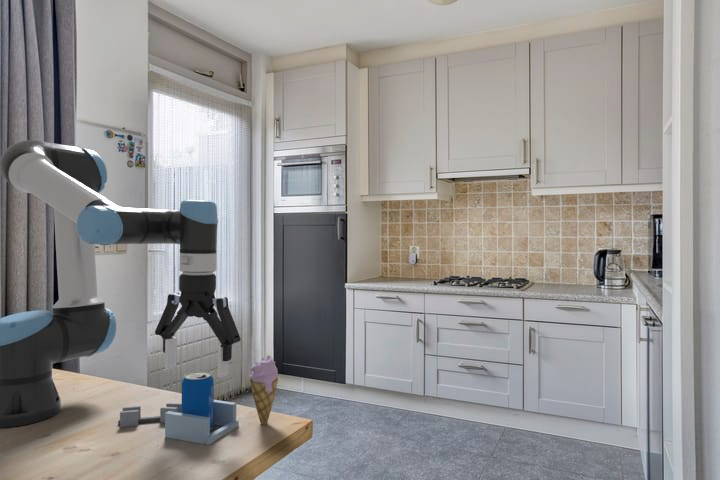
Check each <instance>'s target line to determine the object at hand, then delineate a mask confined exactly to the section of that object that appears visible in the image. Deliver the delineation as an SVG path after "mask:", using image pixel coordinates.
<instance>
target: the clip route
mask: <svg viewBox="0 0 720 480" xmlns="http://www.w3.org/2000/svg"><path fill="white" fill-rule="evenodd" d="M159 409H160V410H159V411H160V412H159V415H157V416H146V417H145V416H144V417H141V416H142V414H141V413H142V412H141V405H132V406H131V405H129V406H122V411H120V412H119V419H118V421H117V426H119V428H128V427H138V426H139V424H146V423H147V424H148V423H156V422H157V423H158V422H160V423H164V424H165V413H166V412H168V411H172V412H178V413H182V402H167V403H166V405H165V406H161V407H160V408H159Z"/></svg>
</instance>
